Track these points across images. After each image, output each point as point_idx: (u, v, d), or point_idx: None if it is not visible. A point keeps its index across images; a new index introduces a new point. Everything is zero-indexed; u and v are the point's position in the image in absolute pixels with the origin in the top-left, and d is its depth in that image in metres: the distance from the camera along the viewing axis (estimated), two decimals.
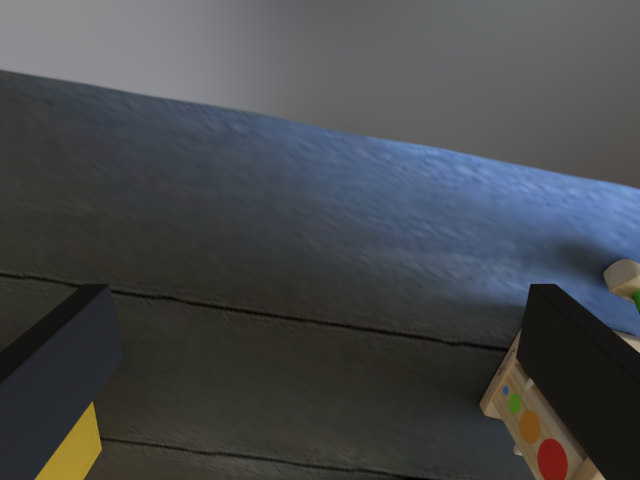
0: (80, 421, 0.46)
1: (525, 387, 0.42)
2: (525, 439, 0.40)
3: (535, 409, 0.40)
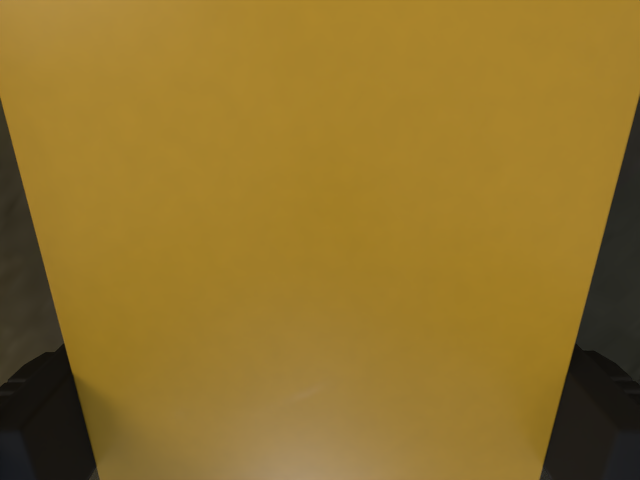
0: None
1: None
2: None
3: None
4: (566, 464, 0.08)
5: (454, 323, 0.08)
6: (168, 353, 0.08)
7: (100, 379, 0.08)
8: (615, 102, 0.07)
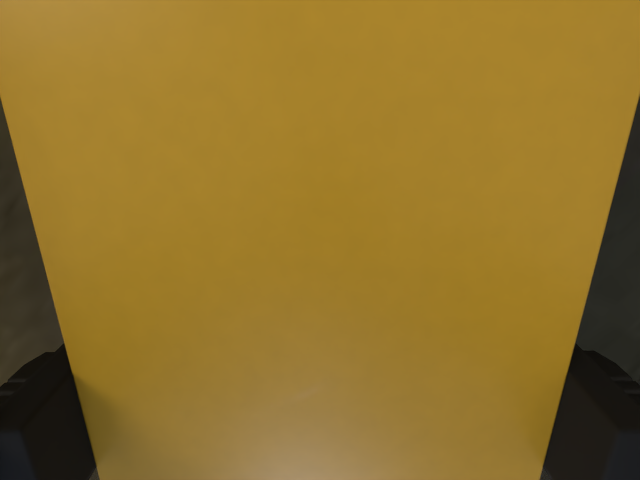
0: None
1: None
2: None
3: None
4: (566, 464, 0.08)
5: (455, 323, 0.08)
6: (168, 353, 0.08)
7: (100, 379, 0.08)
8: (615, 102, 0.07)
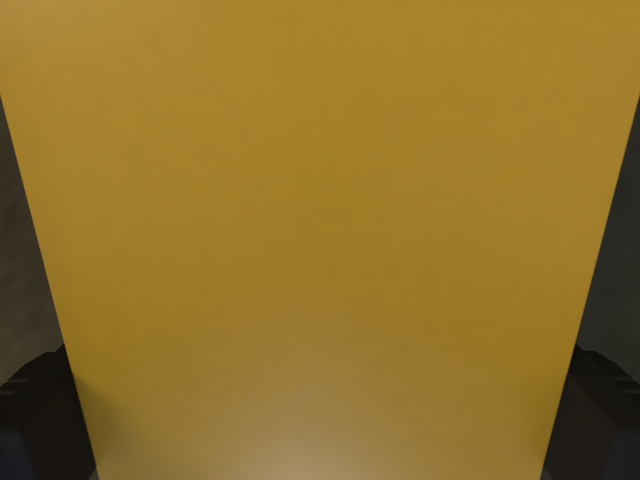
0: None
1: None
2: None
3: None
4: (566, 464, 0.08)
5: (454, 323, 0.08)
6: (168, 353, 0.08)
7: (100, 379, 0.08)
8: (615, 102, 0.07)
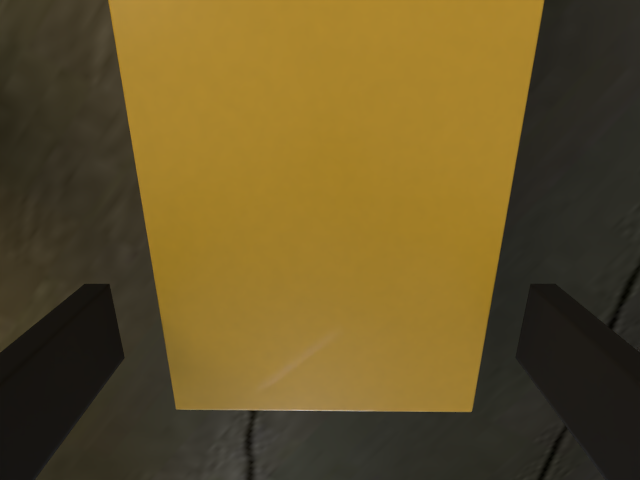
0: None
1: None
2: None
3: None
4: None
5: (416, 236, 0.12)
6: (220, 258, 0.12)
7: (172, 277, 0.12)
8: (514, 83, 0.10)
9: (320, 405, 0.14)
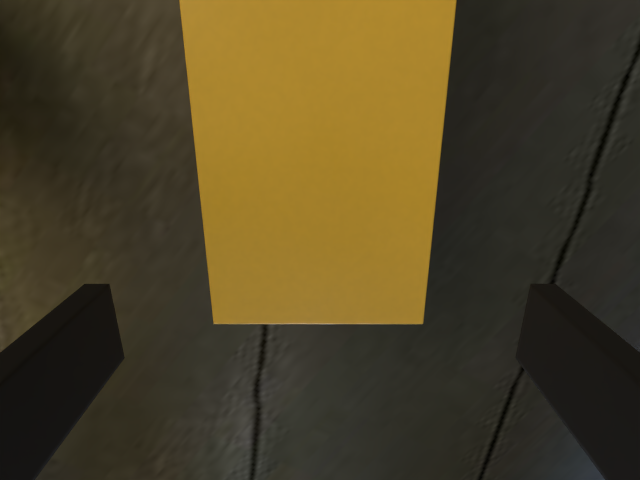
0: None
1: None
2: None
3: None
4: None
5: (379, 195, 0.18)
6: (248, 210, 0.18)
7: (215, 224, 0.18)
8: (437, 94, 0.16)
9: (316, 319, 0.20)
